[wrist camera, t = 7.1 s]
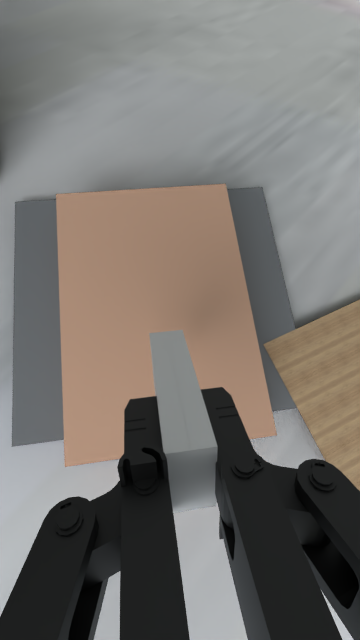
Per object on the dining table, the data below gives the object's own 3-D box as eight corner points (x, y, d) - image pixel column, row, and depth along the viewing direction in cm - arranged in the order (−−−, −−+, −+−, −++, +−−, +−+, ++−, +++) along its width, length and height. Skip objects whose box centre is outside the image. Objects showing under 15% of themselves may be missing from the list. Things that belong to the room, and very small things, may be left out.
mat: (16, 445, 19) (12, 446, 19) (18, 207, 24) (15, 201, 23) (309, 406, 21) (313, 405, 21) (259, 192, 26) (262, 187, 25)
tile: (64, 466, 16) (56, 194, 21) (75, 461, 19) (65, 216, 23) (277, 435, 18) (225, 183, 22) (262, 433, 20) (218, 205, 24)
